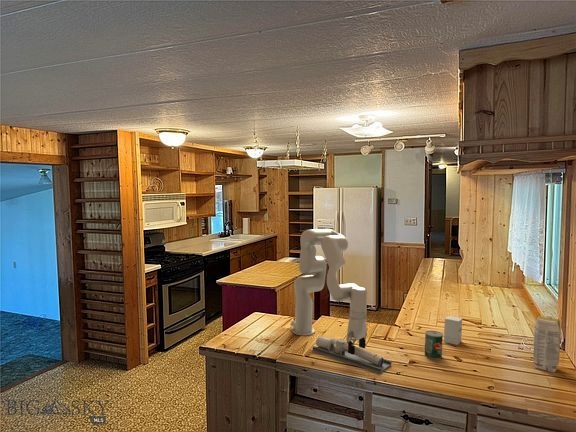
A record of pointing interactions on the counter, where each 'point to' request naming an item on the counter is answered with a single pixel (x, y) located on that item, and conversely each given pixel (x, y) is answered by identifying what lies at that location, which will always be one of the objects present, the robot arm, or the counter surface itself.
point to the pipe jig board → (347, 356)
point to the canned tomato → (433, 344)
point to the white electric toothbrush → (358, 353)
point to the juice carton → (547, 343)
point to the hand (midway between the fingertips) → (356, 350)
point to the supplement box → (453, 330)
